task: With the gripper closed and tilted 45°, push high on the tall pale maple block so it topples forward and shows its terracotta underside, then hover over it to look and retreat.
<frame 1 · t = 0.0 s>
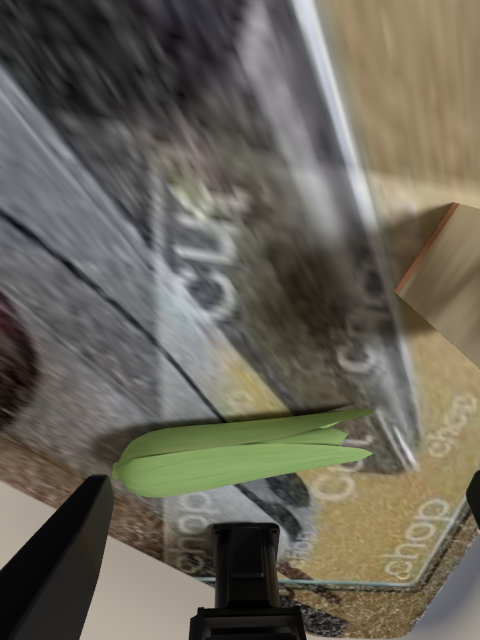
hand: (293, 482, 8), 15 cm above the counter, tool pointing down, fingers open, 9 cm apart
marked block: (460, 267, 22), on the counter
edible corn: (244, 427, 28), on the counter
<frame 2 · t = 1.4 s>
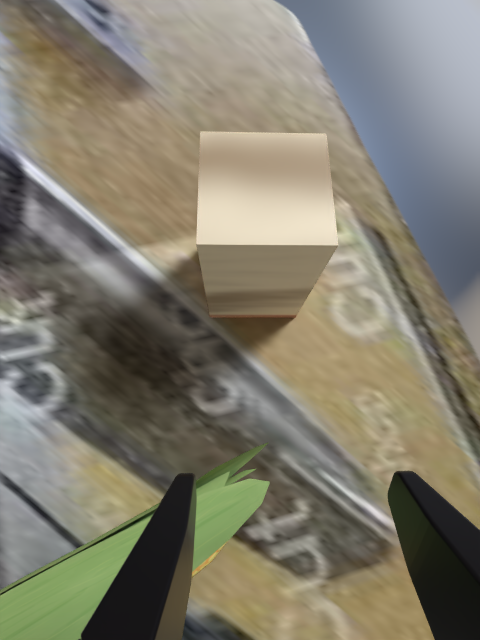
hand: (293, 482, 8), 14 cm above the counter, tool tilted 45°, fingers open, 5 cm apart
marked block: (251, 278, 25), on the counter
edible corn: (133, 558, 20), on the counter
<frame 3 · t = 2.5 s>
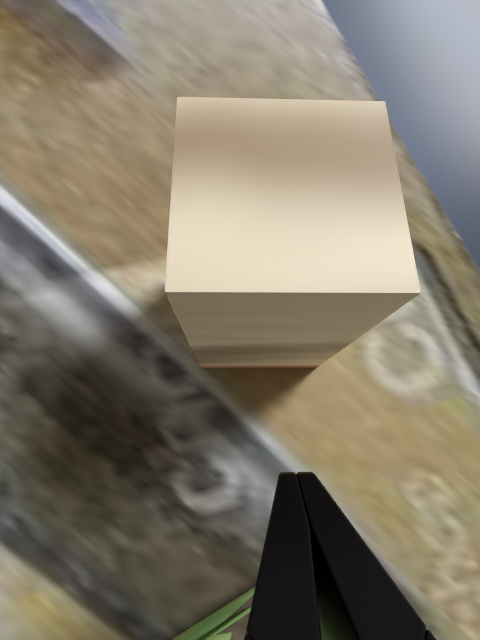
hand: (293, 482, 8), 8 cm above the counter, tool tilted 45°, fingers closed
marked block: (257, 312, 18), on the counter
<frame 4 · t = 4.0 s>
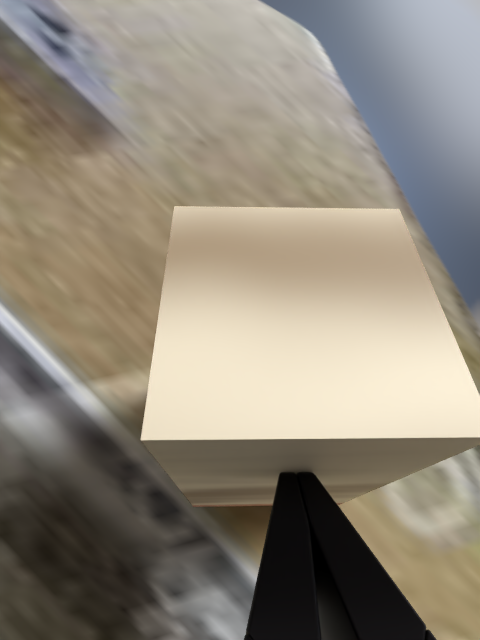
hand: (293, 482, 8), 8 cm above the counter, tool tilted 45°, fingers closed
marked block: (263, 431, 16), point 1 cm above the counter, tilted 16°
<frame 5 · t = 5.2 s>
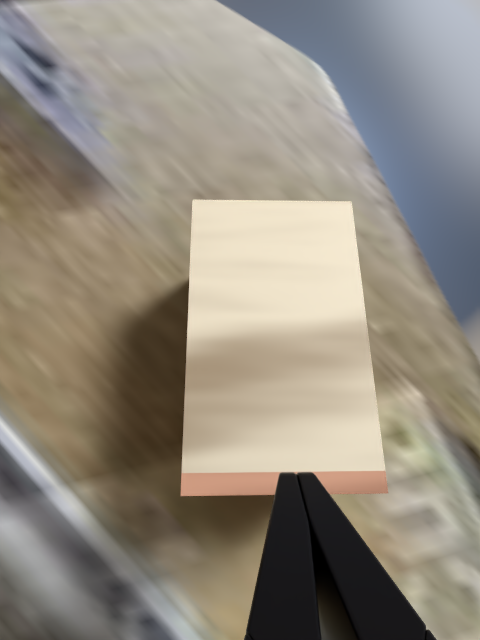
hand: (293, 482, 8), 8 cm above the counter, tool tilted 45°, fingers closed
marked block: (272, 479, 13), point 3 cm above the counter, tilted 90°
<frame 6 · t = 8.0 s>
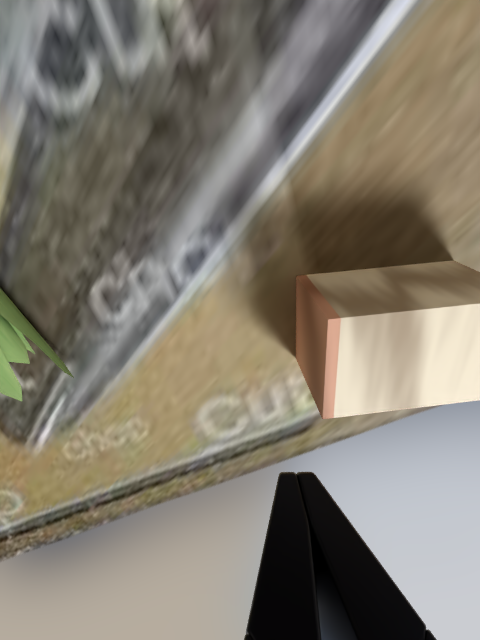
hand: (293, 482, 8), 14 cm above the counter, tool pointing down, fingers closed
marked block: (308, 342, 20), point 3 cm above the counter, tilted 90°
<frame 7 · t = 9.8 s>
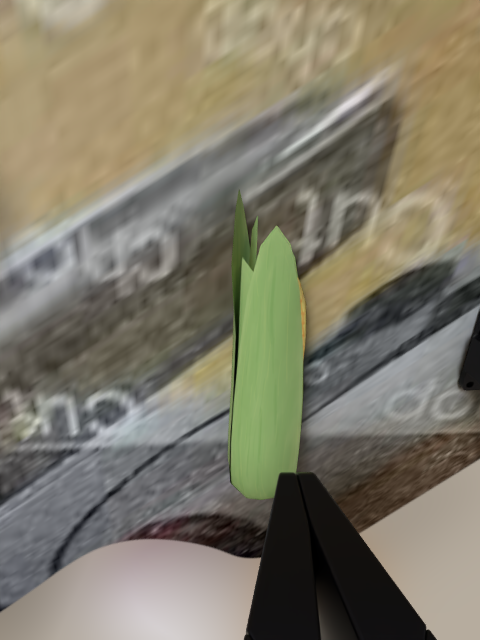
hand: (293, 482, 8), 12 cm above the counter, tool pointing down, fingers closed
edible corn: (263, 350, 22), on the counter
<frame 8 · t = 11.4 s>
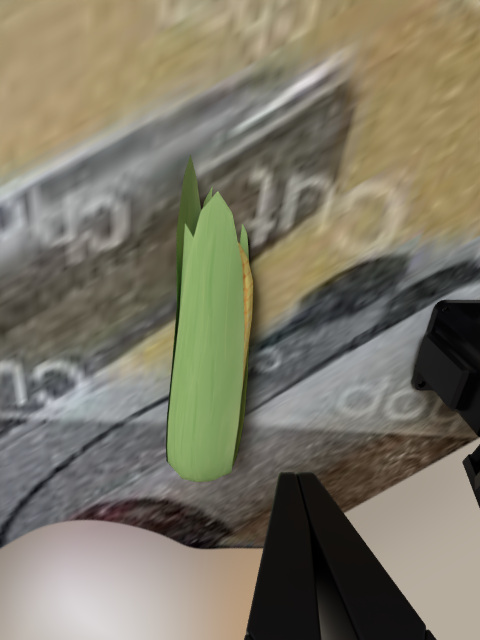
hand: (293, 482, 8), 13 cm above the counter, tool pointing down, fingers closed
edible corn: (214, 330, 22), on the counter
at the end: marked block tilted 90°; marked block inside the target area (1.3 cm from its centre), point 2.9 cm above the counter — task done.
